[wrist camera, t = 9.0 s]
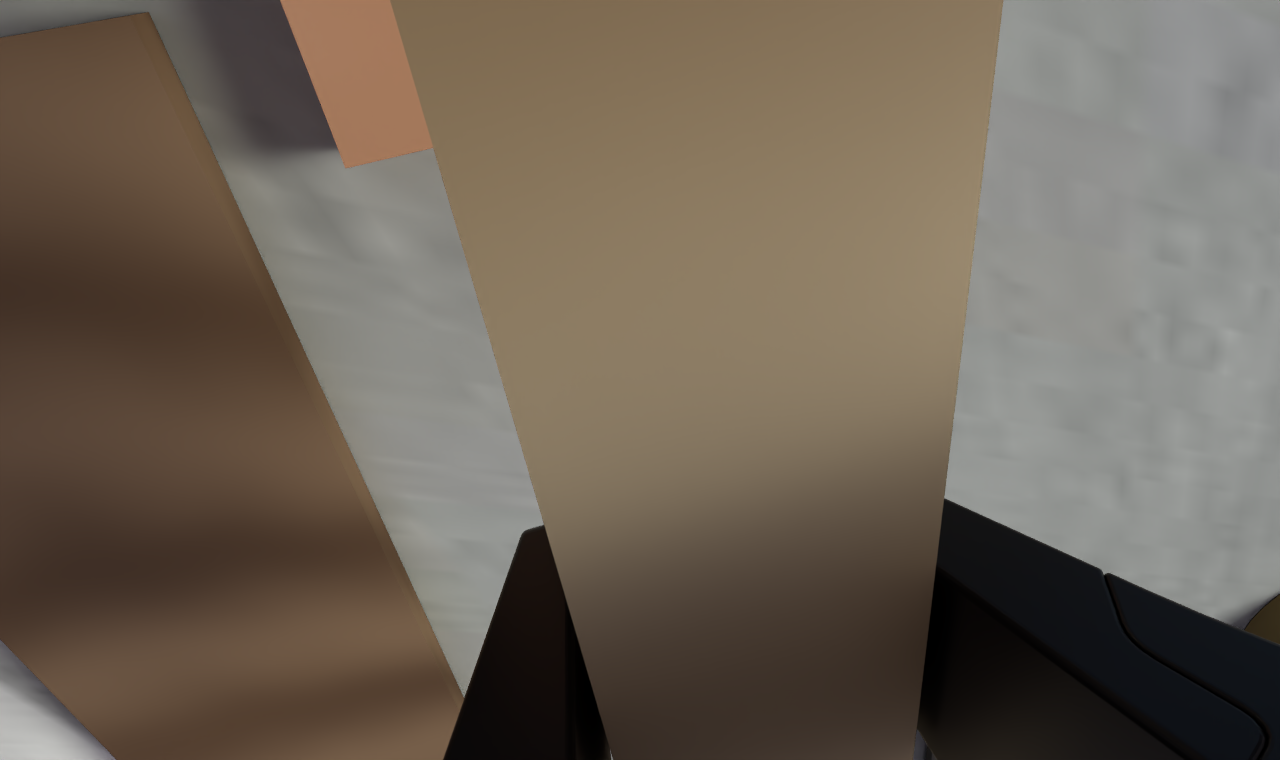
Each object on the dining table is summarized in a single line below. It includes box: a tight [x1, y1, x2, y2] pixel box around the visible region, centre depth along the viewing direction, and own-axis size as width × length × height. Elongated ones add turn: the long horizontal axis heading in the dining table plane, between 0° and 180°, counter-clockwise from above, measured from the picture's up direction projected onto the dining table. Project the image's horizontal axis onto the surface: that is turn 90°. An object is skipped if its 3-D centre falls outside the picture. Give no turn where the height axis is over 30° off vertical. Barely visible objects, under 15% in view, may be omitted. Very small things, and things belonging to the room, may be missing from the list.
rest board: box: [0, 12, 464, 760], centre depth 18 cm, size 24×9×1 cm, turn 9°
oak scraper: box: [390, 0, 1003, 760], centre depth 8 cm, size 16×3×4 cm, turn 9°
